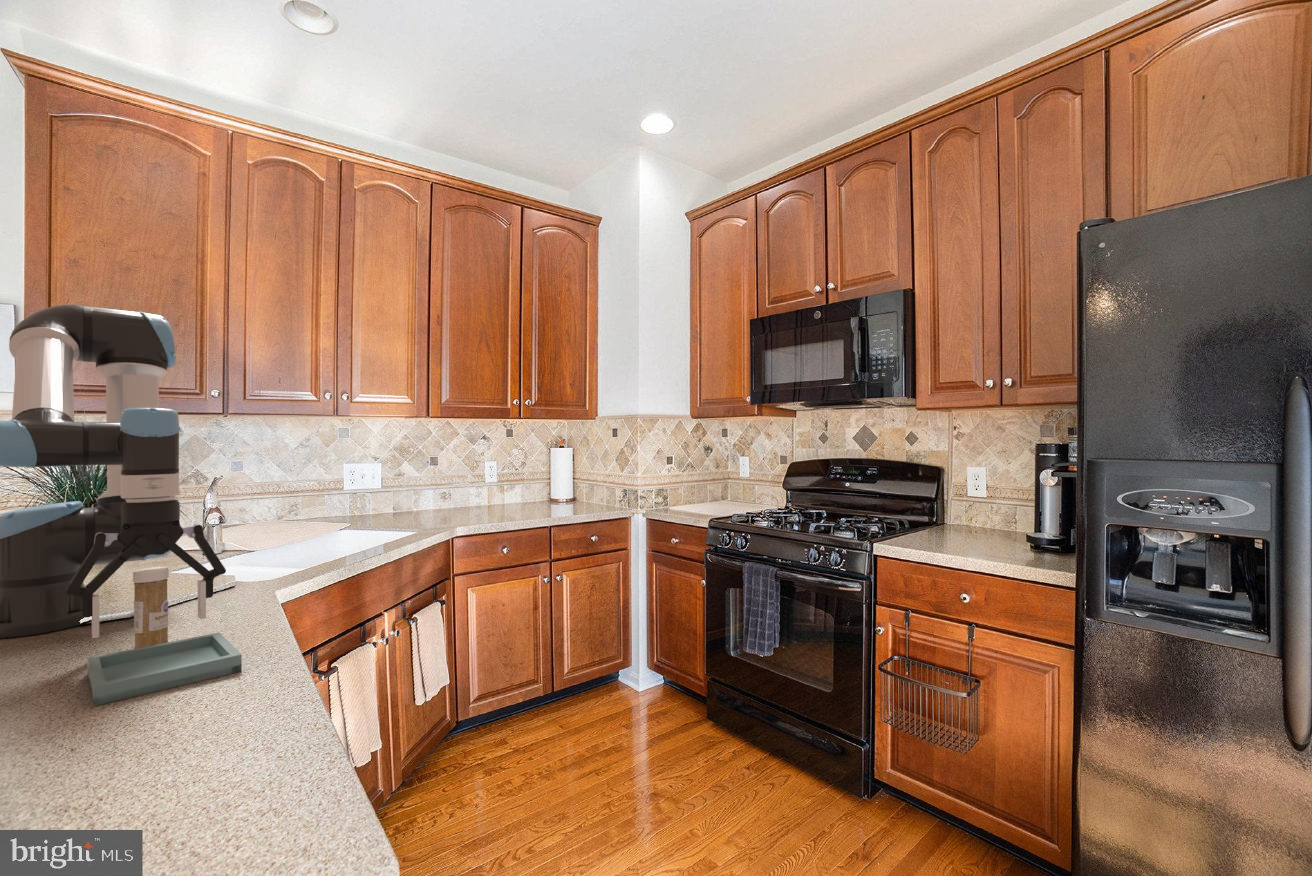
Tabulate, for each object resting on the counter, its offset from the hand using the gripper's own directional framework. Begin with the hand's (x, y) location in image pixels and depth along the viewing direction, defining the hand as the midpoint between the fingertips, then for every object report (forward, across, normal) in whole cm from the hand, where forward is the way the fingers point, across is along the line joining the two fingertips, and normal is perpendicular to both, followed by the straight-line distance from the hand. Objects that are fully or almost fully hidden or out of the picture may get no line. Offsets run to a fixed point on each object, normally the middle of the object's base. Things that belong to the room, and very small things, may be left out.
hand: (151, 626), depth 99 cm
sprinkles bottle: (+4, 0, 0) cm, 4 cm away
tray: (+4, 0, -16) cm, 16 cm away
